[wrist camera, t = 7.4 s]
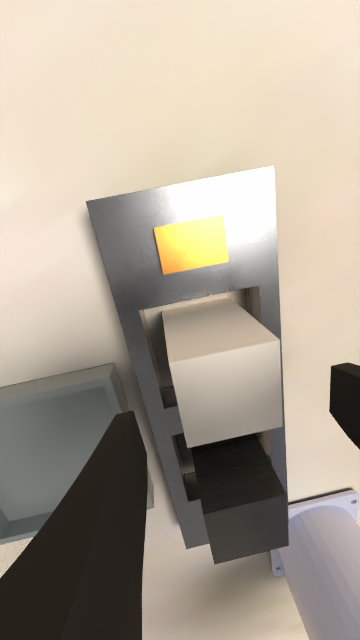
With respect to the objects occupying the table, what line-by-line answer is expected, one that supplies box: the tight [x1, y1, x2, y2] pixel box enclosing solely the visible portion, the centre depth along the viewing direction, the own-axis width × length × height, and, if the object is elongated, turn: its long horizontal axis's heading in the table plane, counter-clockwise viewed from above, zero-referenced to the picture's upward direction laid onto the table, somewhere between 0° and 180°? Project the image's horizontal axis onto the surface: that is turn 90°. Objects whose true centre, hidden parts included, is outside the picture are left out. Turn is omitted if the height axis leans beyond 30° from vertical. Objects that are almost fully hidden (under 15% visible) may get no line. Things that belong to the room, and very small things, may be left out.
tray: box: [0, 363, 154, 545], centre depth 16 cm, size 11×11×2 cm
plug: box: [162, 297, 283, 448], centre depth 12 cm, size 4×4×6 cm
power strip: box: [86, 166, 289, 564], centre depth 13 cm, size 24×8×6 cm, turn 11°
